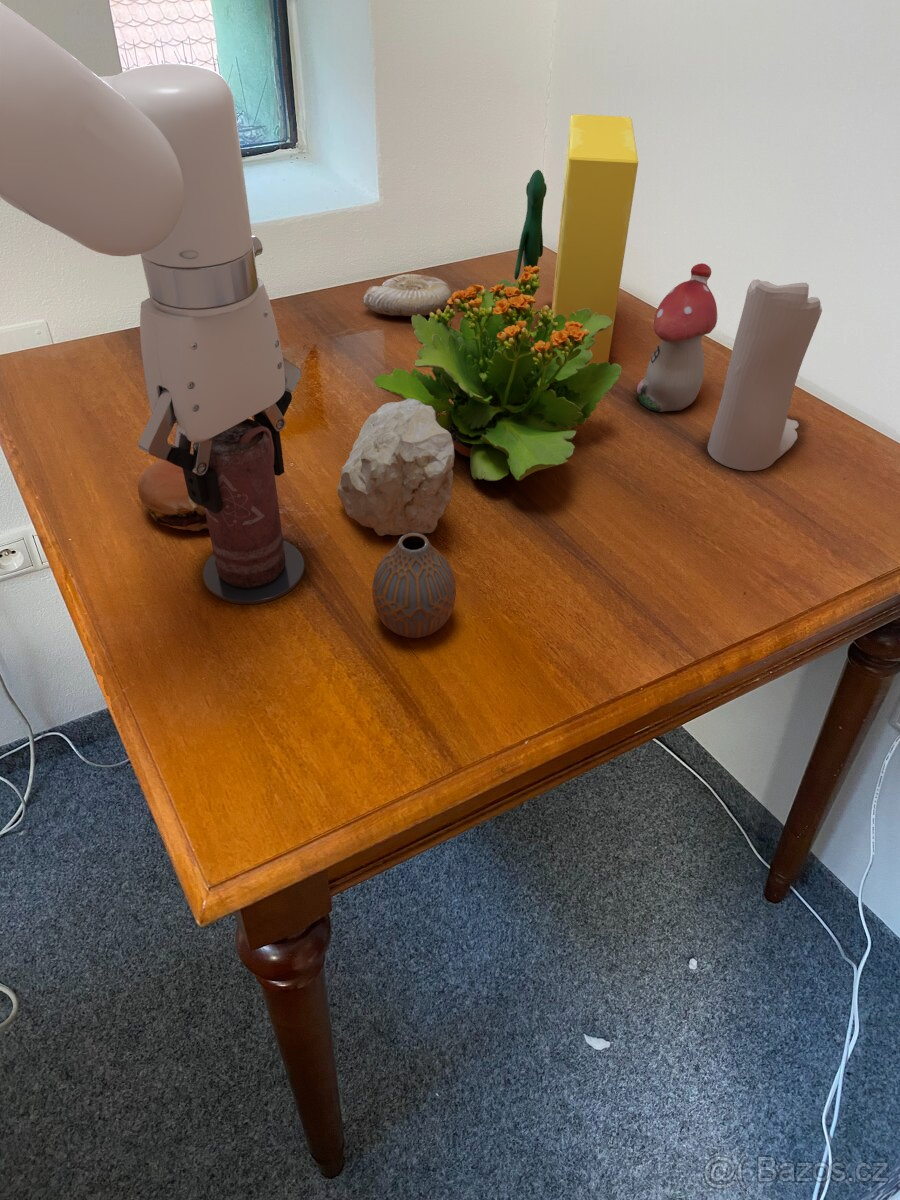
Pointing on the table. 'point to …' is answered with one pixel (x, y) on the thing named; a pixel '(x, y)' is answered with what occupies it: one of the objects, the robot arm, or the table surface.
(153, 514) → the burger
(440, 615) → the vase
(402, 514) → the stone
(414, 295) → the fossil
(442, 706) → the table surface
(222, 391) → the robot arm
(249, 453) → the can
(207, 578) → the coaster
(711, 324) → the decorative ornament
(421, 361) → the potted flower
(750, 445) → the candle
